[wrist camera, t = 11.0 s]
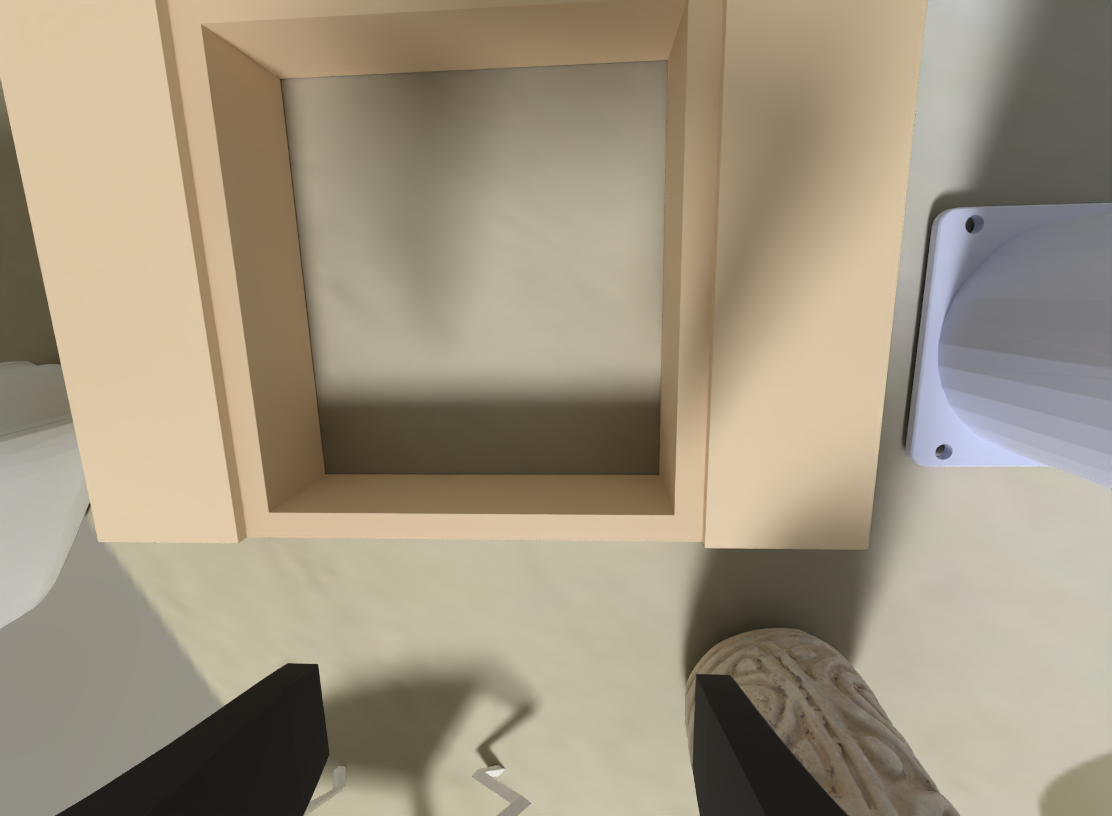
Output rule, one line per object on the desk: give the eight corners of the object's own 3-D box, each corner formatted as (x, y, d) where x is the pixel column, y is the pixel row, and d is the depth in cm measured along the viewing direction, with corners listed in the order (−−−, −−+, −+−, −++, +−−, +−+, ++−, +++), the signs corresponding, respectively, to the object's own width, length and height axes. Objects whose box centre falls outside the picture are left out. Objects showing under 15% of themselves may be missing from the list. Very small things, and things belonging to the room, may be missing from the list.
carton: (850, 20, 15) (935, -70, 12) (811, 497, 18) (868, 549, 15) (118, 58, 17) (-19, -10, 13) (192, 494, 20) (98, 541, 16)
